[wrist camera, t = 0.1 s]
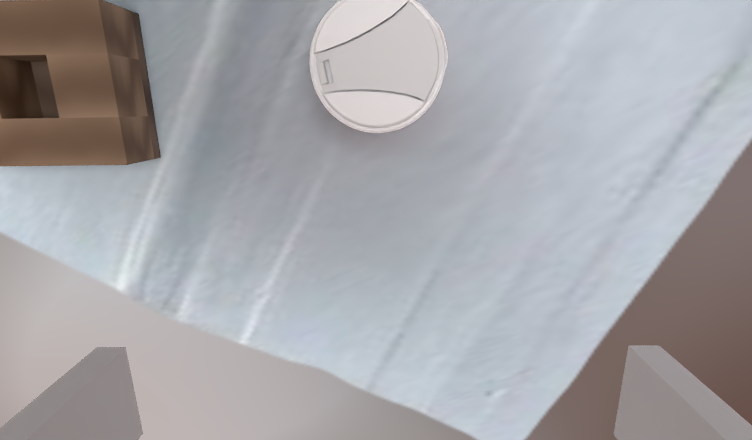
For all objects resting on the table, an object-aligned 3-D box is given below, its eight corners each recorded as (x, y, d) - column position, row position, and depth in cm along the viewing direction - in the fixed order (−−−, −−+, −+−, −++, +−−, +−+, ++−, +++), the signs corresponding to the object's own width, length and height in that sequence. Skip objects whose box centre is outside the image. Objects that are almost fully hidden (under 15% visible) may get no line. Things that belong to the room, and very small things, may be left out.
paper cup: (345, 132, 36) (323, 146, 23) (326, 41, 34) (289, -2, 21) (431, 115, 36) (461, 118, 22) (417, 21, 34) (439, -36, 20)
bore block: (-25, 17, 34) (-91, 2, 30) (138, 14, 34) (98, -2, 29) (11, 159, 38) (-44, 166, 33) (160, 157, 37) (127, 164, 33)
